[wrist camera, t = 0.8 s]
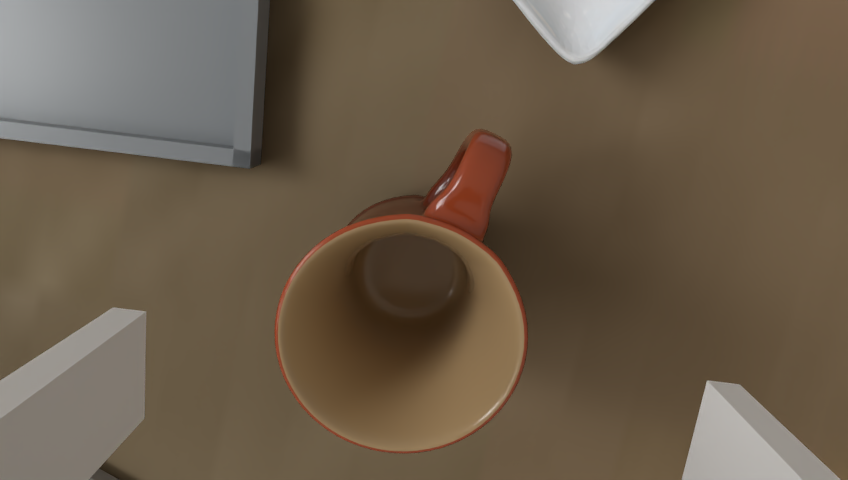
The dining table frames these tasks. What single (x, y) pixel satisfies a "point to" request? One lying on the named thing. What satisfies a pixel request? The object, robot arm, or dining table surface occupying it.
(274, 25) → the dining table surface
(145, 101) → the rest tray
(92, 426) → the robot arm
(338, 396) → the mug
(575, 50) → the salad plate
